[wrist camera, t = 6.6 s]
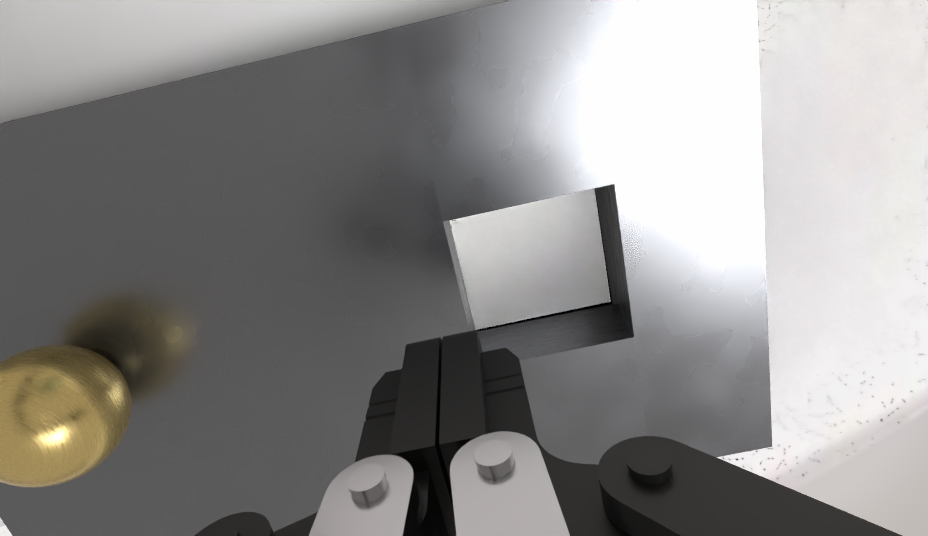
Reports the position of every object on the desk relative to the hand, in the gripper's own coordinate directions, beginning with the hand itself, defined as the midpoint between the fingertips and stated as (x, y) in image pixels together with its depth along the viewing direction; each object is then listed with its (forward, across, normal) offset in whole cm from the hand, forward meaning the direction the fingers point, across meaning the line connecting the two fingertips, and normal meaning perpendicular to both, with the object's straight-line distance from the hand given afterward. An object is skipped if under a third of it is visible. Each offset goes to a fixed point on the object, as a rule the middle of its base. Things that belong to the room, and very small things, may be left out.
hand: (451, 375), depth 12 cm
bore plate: (+6, +4, 0) cm, 7 cm away
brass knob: (+2, +10, 0) cm, 11 cm away
